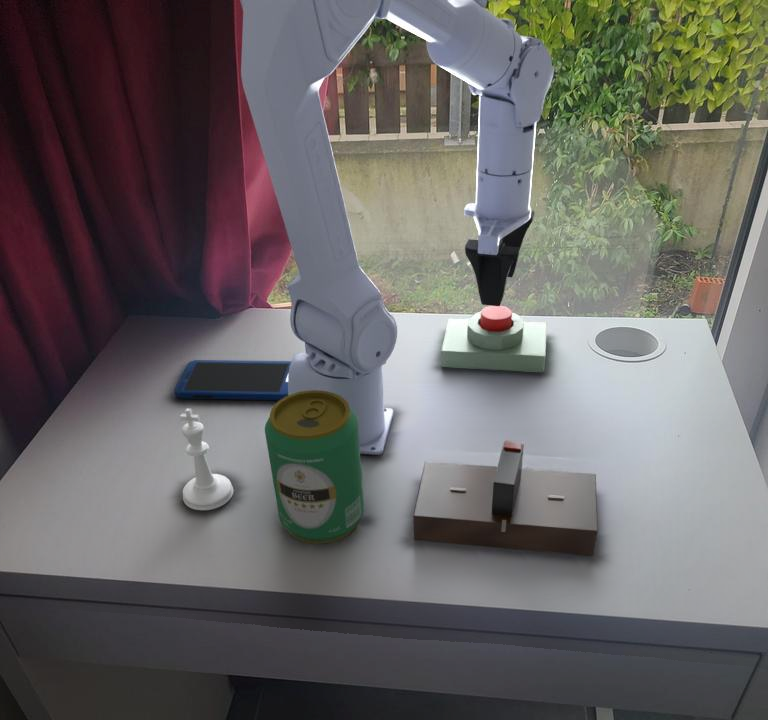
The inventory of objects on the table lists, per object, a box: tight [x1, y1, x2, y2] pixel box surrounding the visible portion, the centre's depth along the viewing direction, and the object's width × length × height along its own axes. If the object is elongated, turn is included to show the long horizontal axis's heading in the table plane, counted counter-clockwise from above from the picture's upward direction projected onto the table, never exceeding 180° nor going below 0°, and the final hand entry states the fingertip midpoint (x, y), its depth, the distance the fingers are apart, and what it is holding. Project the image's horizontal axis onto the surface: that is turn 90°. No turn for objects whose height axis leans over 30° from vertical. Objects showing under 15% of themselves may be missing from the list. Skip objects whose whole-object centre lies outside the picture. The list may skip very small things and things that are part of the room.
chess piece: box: [179, 407, 234, 511], centre depth 77 cm, size 5×5×10 cm
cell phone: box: [173, 359, 292, 401], centre depth 95 cm, size 7×14×1 cm, turn 85°
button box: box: [440, 311, 548, 373], centre depth 97 cm, size 12×8×4 cm, turn 80°
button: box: [480, 305, 513, 332], centre depth 95 cm, size 4×4×2 cm
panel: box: [412, 460, 599, 557], centre depth 75 cm, size 16×10×3 cm, turn 80°
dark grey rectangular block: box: [492, 440, 525, 516], centre depth 73 cm, size 6×2×4 cm, turn 165°
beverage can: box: [264, 390, 365, 545], centre depth 73 cm, size 8×8×12 cm
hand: (497, 289), depth 93 cm, fingers open, 7 cm apart
